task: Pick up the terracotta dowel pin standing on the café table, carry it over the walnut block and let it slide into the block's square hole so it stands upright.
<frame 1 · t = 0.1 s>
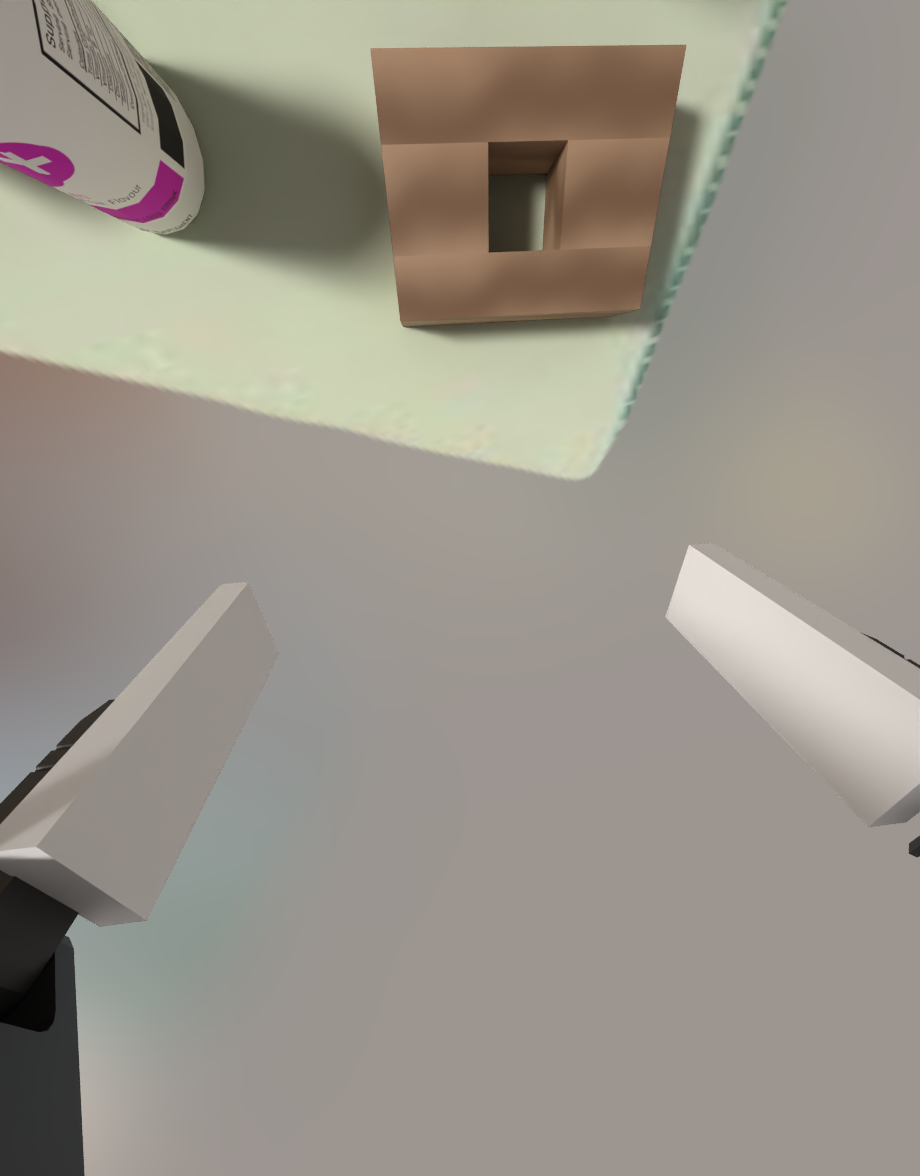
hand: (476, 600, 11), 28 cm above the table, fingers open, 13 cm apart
hole block: (511, 222, 27), on the table
supplement can: (143, 154, 24), on the table
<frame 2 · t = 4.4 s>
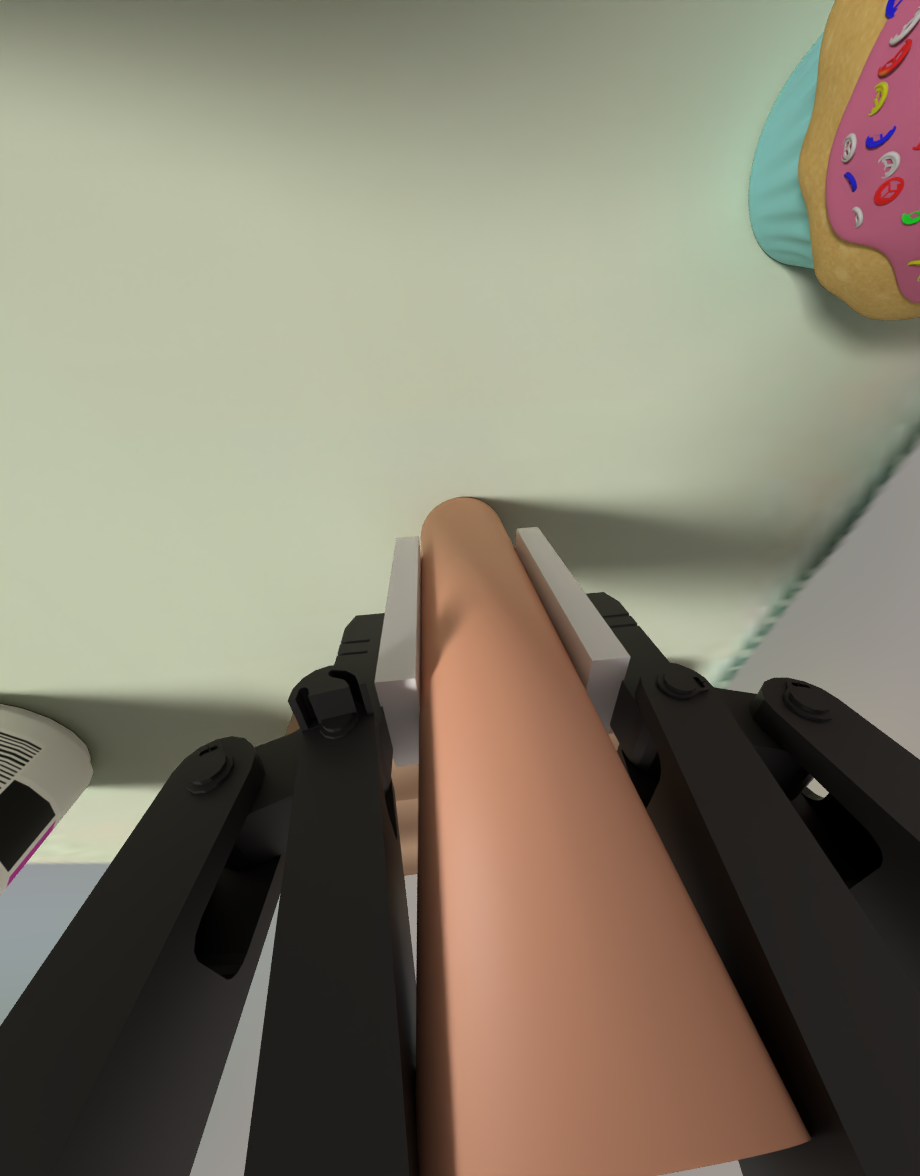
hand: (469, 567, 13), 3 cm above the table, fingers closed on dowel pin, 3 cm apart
dowel pin: (462, 538, 15), on the table, touching gripper
cupcake: (829, 149, 10), on the table
hole block: (472, 741, 23), on the table
supplement can: (16, 741, 19), on the table
when the fingers open (6 cm above the table, at t = 9.4 s): dowel pin drops 1 cm, resting in hole block.
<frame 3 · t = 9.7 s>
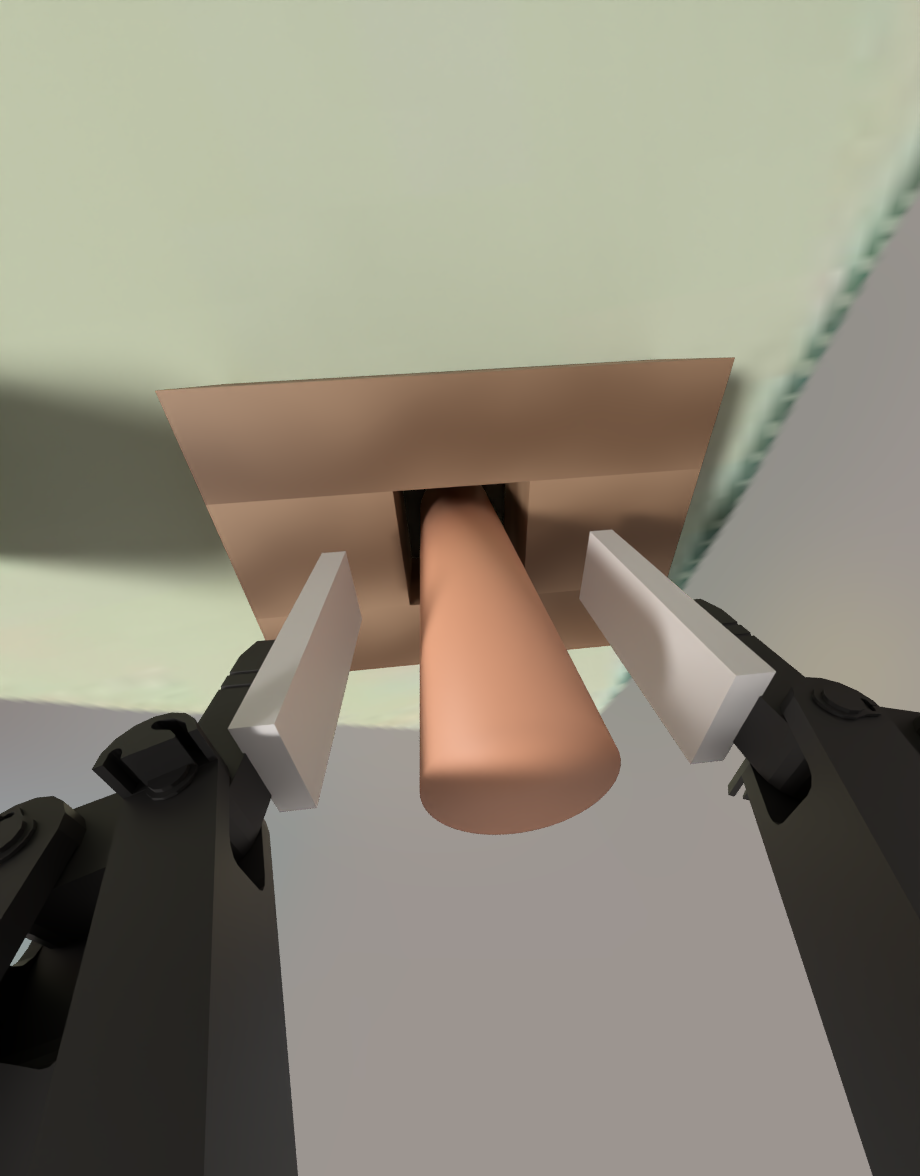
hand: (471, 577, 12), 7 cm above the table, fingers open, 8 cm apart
dowel pin: (455, 509, 18), resting in hole block
hole block: (455, 509, 18), on the table
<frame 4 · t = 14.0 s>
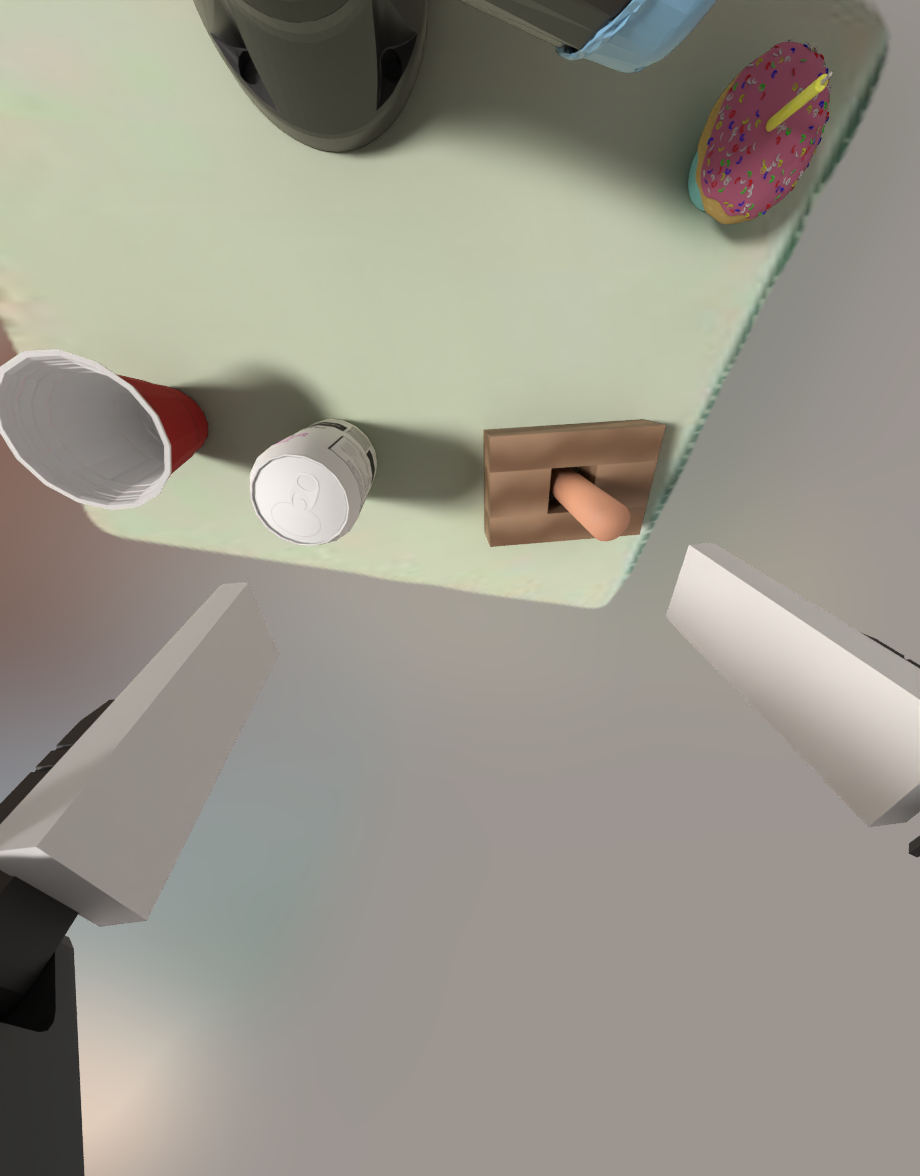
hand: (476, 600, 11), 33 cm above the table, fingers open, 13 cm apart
dowel pin: (558, 479, 43), resting in hole block
cupcake: (715, 170, 30), on the table
hole block: (558, 479, 43), on the table
plastic cup: (179, 417, 36), on the table
supplement can: (340, 458, 39), on the table
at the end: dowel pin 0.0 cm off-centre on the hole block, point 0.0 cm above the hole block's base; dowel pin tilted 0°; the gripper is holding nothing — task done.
